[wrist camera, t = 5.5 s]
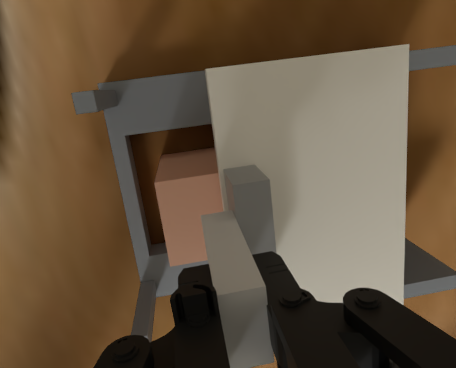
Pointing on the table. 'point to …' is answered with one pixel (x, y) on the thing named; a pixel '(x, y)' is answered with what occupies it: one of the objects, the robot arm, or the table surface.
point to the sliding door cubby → (194, 116)
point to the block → (187, 201)
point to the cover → (318, 164)
